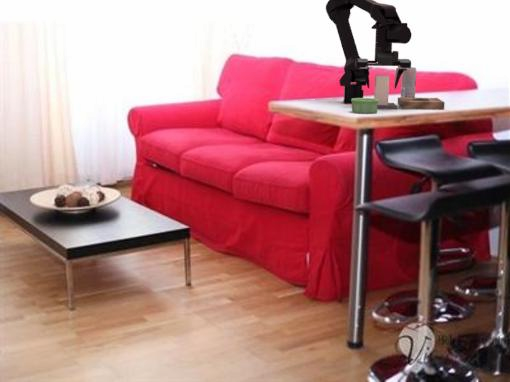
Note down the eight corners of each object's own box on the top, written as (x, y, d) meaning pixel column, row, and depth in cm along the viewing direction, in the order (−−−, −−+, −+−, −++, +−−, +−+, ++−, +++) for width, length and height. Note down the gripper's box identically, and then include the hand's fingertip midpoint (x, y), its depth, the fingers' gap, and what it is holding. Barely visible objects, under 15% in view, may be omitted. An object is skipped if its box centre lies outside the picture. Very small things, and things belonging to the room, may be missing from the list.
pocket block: (402, 109, 262) (403, 101, 262) (397, 104, 276) (397, 97, 275) (444, 109, 262) (444, 102, 261) (436, 104, 275) (437, 97, 275)
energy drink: (414, 98, 294) (415, 67, 292) (415, 100, 289) (417, 68, 286) (399, 98, 295) (401, 67, 292) (401, 100, 290) (402, 68, 287)
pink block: (375, 104, 265) (376, 75, 263) (373, 103, 269) (375, 74, 267) (388, 105, 265) (389, 75, 263) (386, 103, 269) (387, 74, 267)
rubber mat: (367, 108, 263) (367, 105, 263) (365, 105, 273) (365, 102, 272) (397, 109, 262) (397, 106, 262) (393, 105, 272) (393, 102, 272)
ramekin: (375, 111, 258) (376, 97, 257) (380, 114, 249) (380, 100, 248) (348, 110, 257) (349, 97, 256) (352, 114, 249) (353, 100, 248)
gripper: (358, 43, 255) (356, 90, 259) (414, 43, 254) (412, 91, 258) (355, 42, 266) (354, 87, 269) (409, 42, 265) (407, 87, 268)
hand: (381, 88), depth 266 cm, fingers open, 9 cm apart
